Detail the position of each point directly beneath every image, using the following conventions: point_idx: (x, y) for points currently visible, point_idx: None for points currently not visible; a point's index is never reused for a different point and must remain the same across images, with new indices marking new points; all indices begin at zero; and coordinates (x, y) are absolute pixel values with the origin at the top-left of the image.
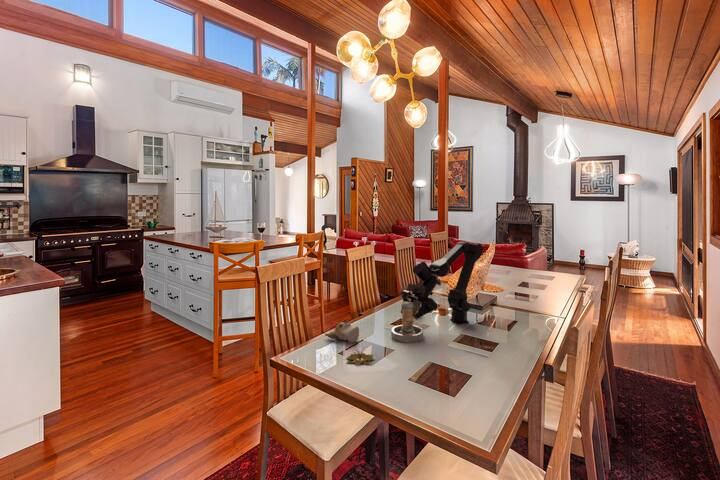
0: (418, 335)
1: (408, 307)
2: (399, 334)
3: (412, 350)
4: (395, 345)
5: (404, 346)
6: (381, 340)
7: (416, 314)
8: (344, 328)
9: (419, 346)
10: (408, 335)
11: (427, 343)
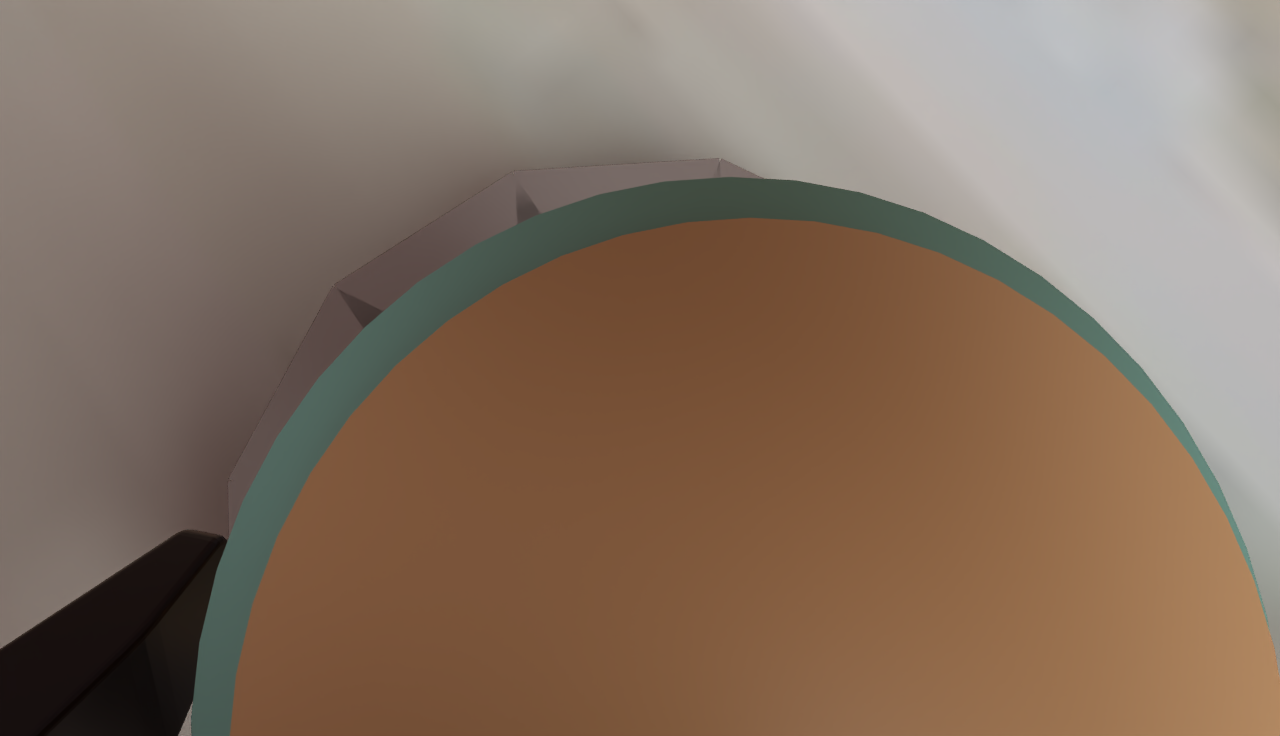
0: (237, 472)
1: (376, 348)
2: (607, 189)
3: (143, 50)
4: (538, 30)
5: (374, 101)
6: (902, 45)
7: (120, 644)
8: None
9: (139, 290)
10: (398, 272)
11: (89, 530)
